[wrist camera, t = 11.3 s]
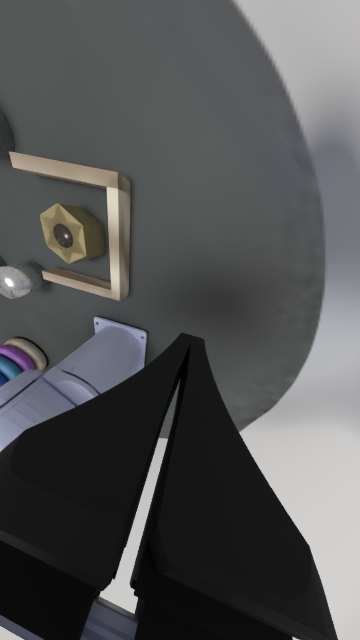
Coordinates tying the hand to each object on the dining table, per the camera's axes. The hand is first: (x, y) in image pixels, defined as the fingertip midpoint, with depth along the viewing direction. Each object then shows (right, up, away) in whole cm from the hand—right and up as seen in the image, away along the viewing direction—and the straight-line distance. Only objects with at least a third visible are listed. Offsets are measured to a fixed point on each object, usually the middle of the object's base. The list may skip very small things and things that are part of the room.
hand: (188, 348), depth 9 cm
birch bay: (-11, +11, +8) cm, 17 cm away
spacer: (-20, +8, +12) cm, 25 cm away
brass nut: (-11, +11, +8) cm, 17 cm away
